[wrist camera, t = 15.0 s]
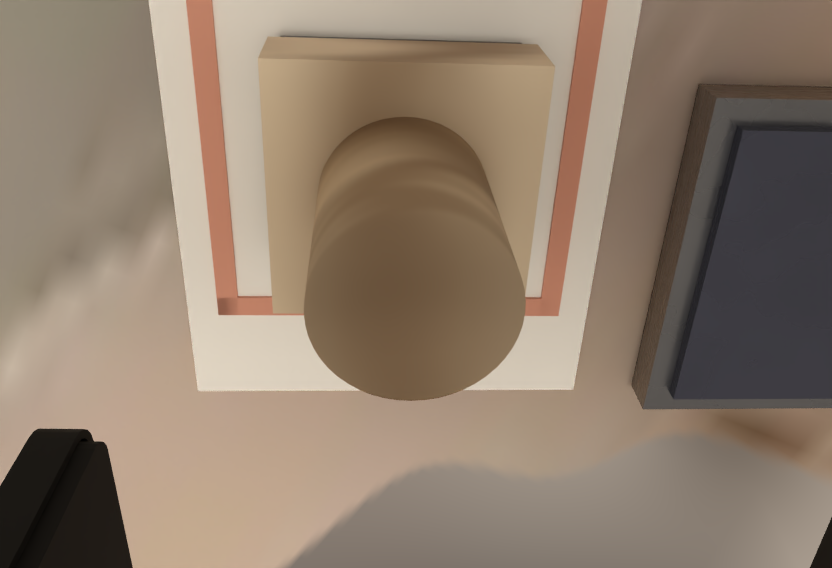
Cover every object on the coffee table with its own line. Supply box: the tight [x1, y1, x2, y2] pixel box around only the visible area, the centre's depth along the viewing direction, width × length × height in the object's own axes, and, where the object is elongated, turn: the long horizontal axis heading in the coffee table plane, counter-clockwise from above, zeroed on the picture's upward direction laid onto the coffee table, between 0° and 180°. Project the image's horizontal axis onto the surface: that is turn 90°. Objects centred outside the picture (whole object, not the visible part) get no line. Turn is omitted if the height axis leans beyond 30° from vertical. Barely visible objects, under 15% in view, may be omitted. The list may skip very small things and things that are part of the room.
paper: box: [149, 0, 642, 391], centre depth 21 cm, size 12×16×1 cm
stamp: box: [258, 36, 555, 401], centre depth 18 cm, size 6×6×8 cm
